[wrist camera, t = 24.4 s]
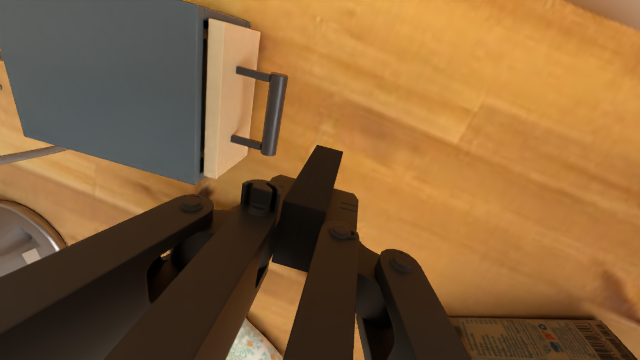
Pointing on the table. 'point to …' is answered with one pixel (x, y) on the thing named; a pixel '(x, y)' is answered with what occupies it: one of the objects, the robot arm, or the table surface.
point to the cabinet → (111, 78)
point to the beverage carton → (539, 339)
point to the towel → (252, 345)
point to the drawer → (234, 97)
